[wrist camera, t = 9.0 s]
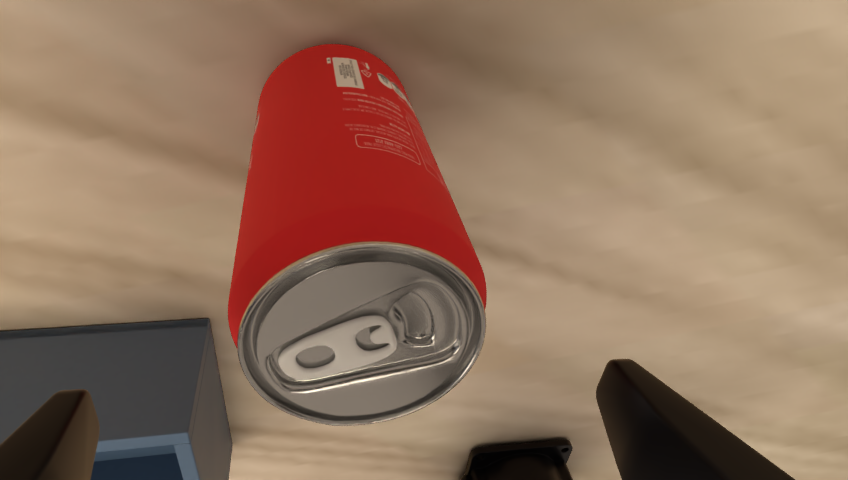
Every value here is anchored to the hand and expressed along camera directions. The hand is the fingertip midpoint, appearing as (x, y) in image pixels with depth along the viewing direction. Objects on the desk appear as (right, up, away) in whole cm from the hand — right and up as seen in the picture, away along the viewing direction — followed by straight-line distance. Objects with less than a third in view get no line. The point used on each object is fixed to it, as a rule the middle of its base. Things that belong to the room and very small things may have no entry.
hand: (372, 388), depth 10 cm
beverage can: (-2, +7, +11) cm, 13 cm away
